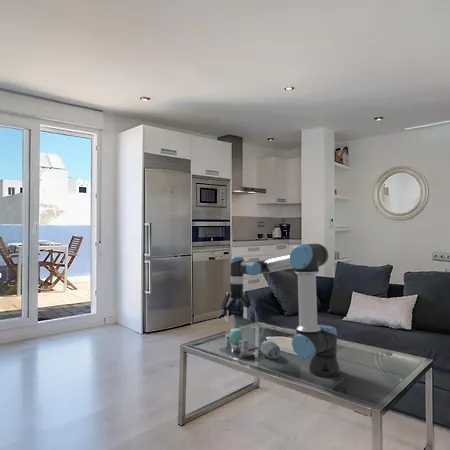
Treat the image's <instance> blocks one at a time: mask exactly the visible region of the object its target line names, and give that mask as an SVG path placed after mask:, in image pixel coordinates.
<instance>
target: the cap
mask: <svg viewBox="0 0 450 450" xmlns="http://www.w3.org/2000/svg"><path fill="white" fill-rule="evenodd" d="M229 333H230V338H228V340H230V343H231V345H232V344H240V346H242V343H241V342H239V339H243V329H241V328H238V327H237V328H231V329H229Z"/></svg>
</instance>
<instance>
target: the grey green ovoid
mask: <svg viewBox="0 0 450 450" xmlns="http://www.w3.org/2000/svg"><path fill="white" fill-rule="evenodd" d="M260 351H261V354H263V356H265V358H268V359H271V360H278V359H279V357H280V355H281V349H280V346H279V345H278V344H277V343H276V342H274V341H272V340H264V341H262V343H261V346H260Z"/></svg>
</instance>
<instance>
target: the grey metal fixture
mask: <svg viewBox="0 0 450 450" xmlns="http://www.w3.org/2000/svg"><path fill="white" fill-rule="evenodd" d="M224 334H225V338H224V343H225V344H224V347H220V348H219V349H218V350H219V351H220V352H223V353H225V354H227V355H229V356H231V357H233V358H235V359H236V360H237V359H238V360H239V359H243V358H246V357H248V358H249V357H251V356H254V353H253V352H251V351H250V350H248V344H249V343H248V342H249V341H248V339H246V338H242V339H239V342H241V343H242V345H240V344H232V343H230V340H228V338H230V332H228V333H224ZM240 346H242V348H241V347H240Z"/></svg>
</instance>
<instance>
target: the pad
mask: <svg viewBox="0 0 450 450" xmlns="http://www.w3.org/2000/svg"><path fill="white" fill-rule="evenodd" d="M240 348H242V345H240ZM256 349H259V347H258V346H256V345H254V344H252V343H248V351H251V350H256Z"/></svg>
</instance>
